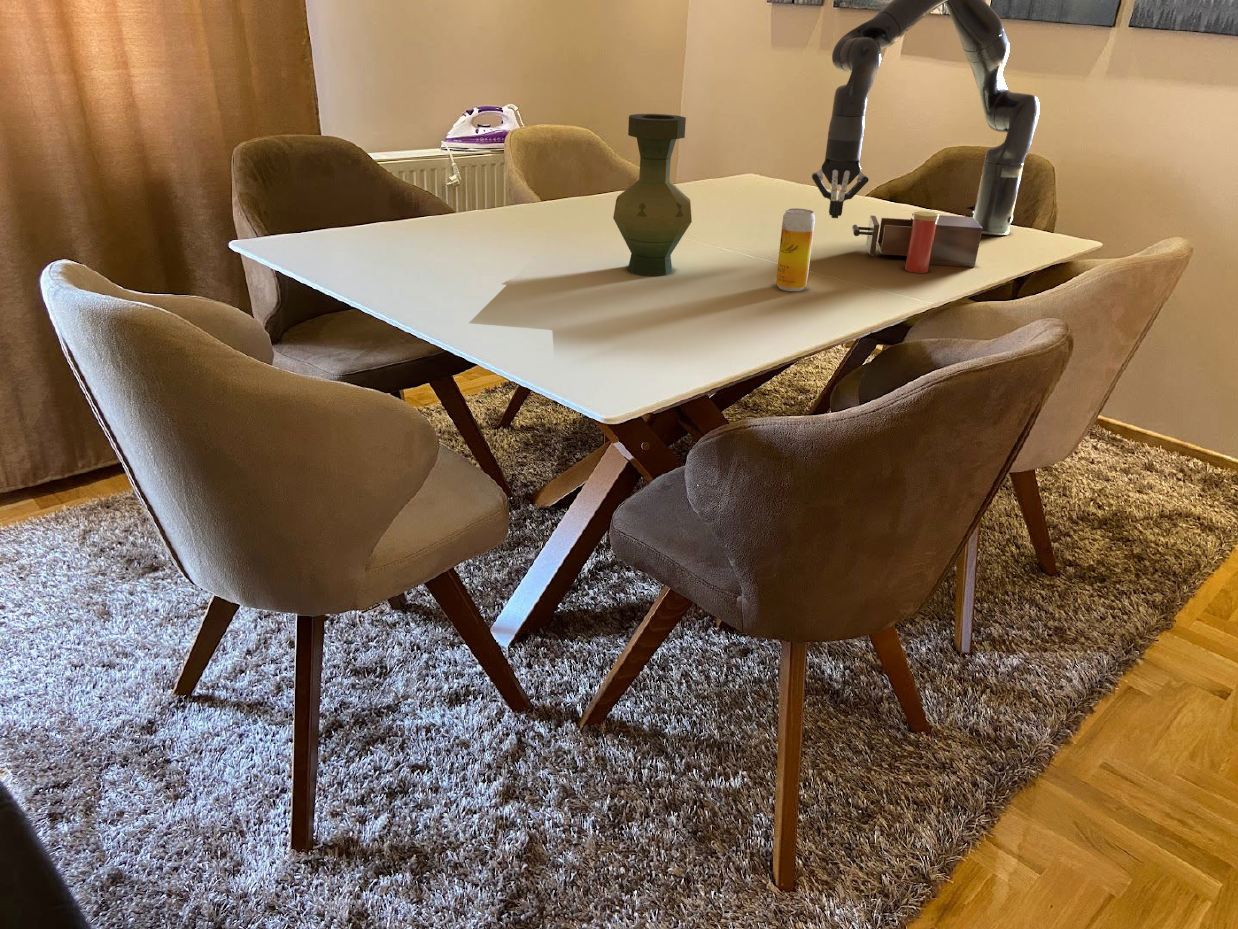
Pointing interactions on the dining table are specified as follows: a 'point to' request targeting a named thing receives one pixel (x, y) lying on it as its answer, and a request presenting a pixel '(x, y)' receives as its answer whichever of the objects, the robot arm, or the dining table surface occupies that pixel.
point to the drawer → (887, 235)
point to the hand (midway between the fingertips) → (834, 217)
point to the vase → (653, 197)
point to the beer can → (795, 249)
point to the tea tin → (921, 241)
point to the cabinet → (955, 241)
